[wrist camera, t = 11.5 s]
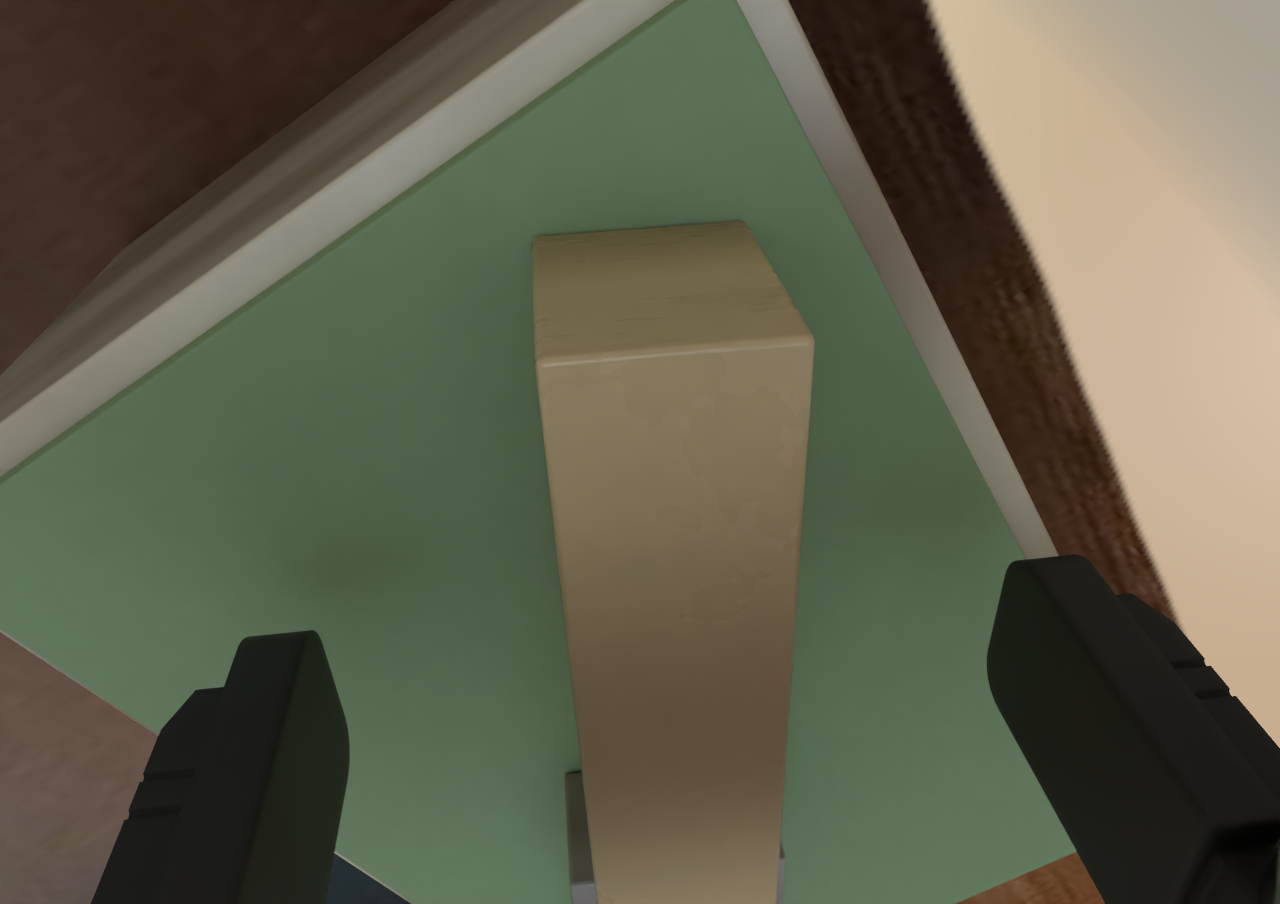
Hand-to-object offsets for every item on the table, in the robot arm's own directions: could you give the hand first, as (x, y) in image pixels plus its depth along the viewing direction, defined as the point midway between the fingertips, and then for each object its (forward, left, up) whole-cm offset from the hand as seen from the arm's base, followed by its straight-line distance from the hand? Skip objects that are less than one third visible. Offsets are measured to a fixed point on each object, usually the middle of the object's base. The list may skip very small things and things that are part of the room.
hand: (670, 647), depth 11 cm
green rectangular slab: (+4, 0, -3) cm, 4 cm away
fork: (+4, 0, -2) cm, 4 cm away
